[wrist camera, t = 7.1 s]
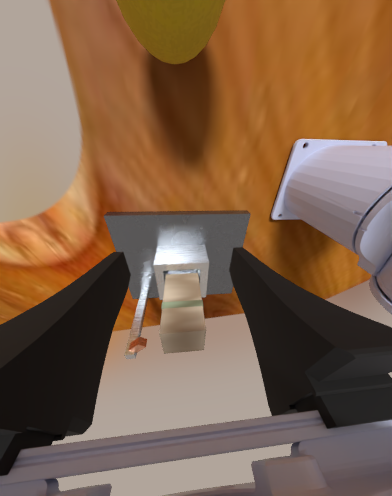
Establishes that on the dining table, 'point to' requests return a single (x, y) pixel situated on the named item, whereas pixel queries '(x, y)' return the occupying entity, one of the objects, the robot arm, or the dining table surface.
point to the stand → (174, 253)
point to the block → (182, 314)
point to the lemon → (172, 26)
